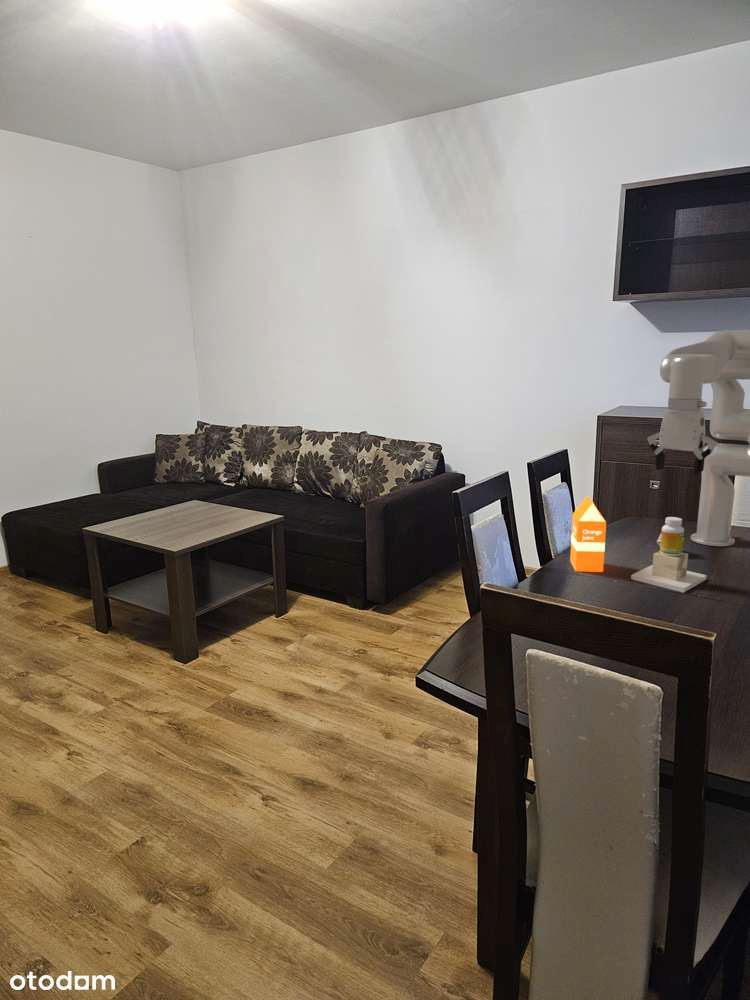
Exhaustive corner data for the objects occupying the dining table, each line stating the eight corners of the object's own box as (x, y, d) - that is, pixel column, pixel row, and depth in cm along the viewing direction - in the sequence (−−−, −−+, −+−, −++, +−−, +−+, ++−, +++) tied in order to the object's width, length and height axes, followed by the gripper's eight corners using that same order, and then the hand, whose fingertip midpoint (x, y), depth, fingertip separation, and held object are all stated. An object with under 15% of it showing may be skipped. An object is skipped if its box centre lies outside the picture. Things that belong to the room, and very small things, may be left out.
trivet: (654, 567, 182) (655, 563, 182) (706, 579, 172) (706, 575, 172) (631, 579, 173) (631, 575, 173) (683, 592, 163) (684, 588, 163)
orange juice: (596, 562, 188) (601, 495, 183) (603, 572, 179) (608, 502, 175) (569, 561, 189) (573, 495, 184) (574, 571, 180) (578, 502, 176)
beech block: (662, 569, 177) (664, 548, 175) (686, 575, 172) (688, 553, 171) (651, 575, 172) (653, 553, 171) (675, 580, 168) (677, 559, 166)
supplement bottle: (680, 558, 167) (683, 522, 165) (658, 554, 170) (661, 519, 168) (683, 552, 172) (686, 517, 170) (661, 549, 175) (664, 515, 172)
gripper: (726, 405, 158) (719, 473, 162) (657, 402, 171) (652, 465, 175) (714, 408, 153) (707, 478, 157) (644, 404, 166) (639, 469, 170)
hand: (678, 471), depth 166 cm, fingers open, 9 cm apart
